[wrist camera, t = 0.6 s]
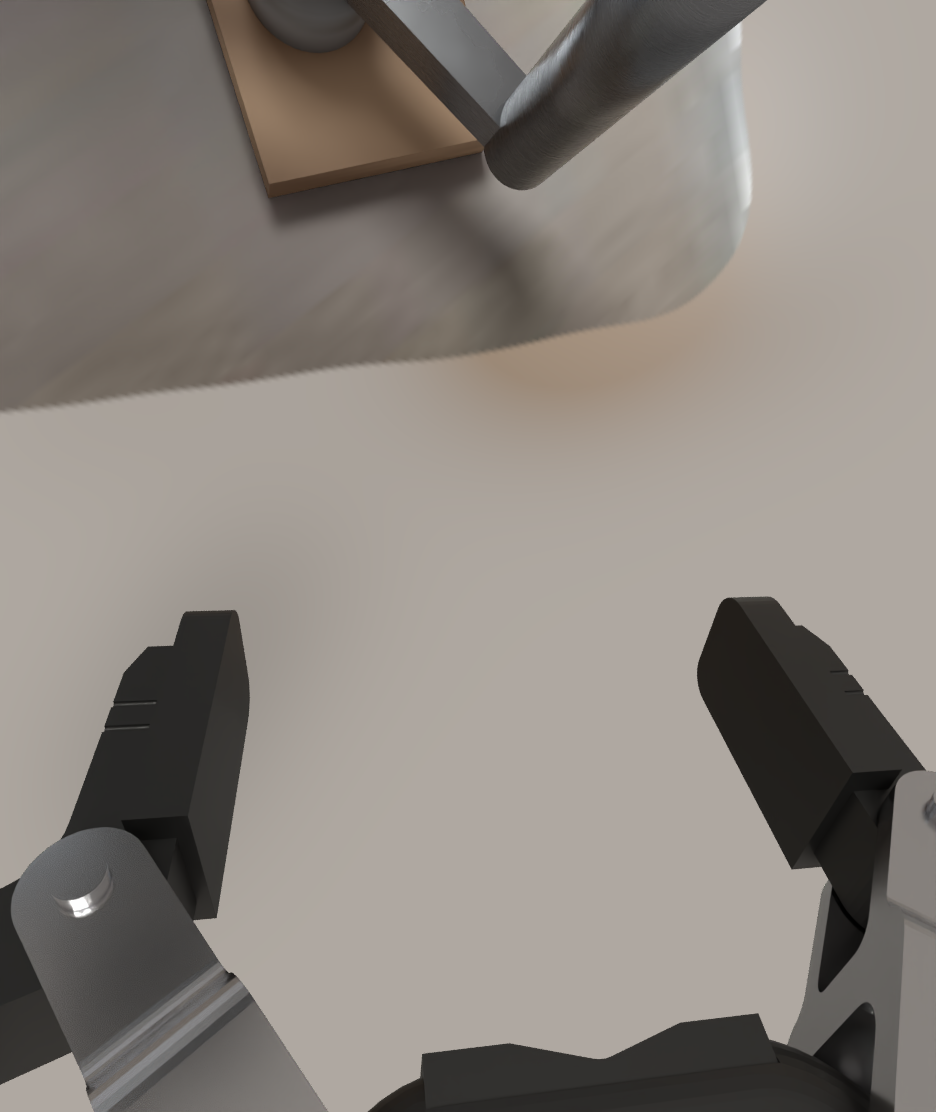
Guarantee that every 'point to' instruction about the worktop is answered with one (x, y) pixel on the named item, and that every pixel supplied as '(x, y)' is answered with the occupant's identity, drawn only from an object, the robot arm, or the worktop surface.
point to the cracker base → (328, 95)
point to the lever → (549, 71)
